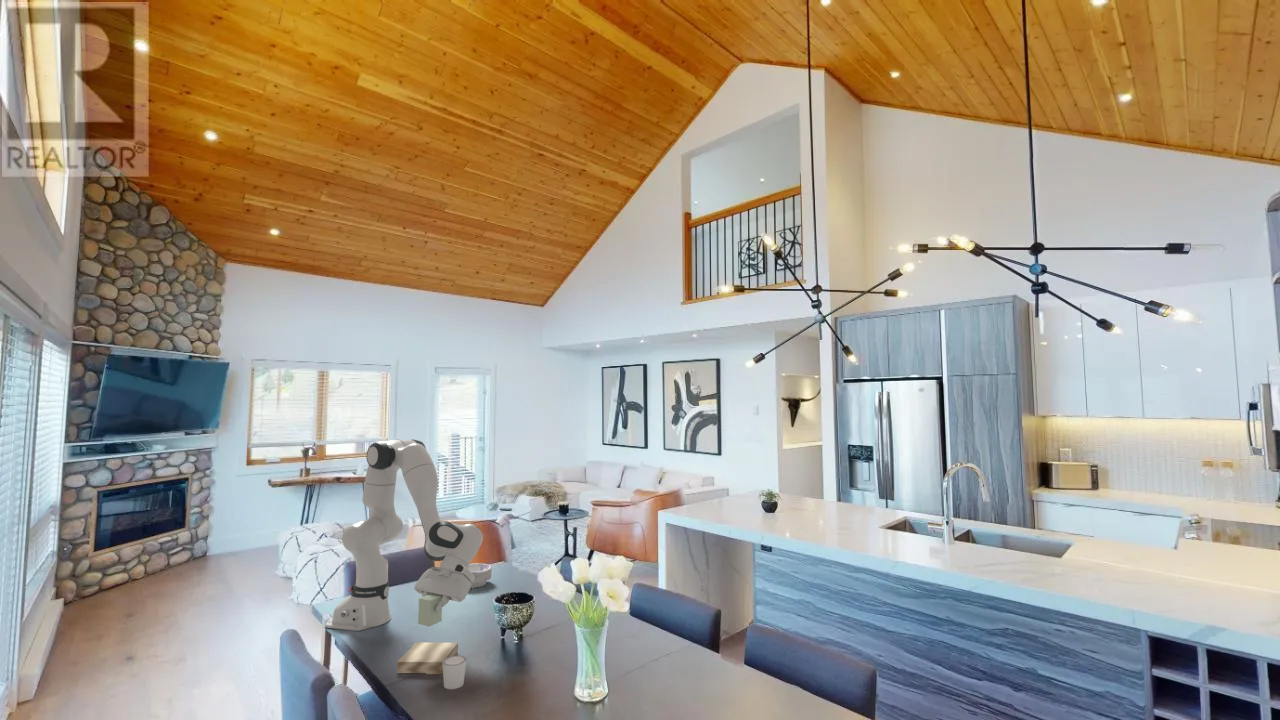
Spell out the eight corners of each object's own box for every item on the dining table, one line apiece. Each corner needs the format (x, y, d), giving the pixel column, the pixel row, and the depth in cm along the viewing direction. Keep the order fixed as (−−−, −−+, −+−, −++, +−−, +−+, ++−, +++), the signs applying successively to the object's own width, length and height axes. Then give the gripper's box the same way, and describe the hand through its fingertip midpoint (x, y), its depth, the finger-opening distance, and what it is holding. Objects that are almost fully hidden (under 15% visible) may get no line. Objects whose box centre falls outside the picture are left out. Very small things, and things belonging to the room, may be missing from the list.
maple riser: (397, 675, 173) (397, 661, 174) (416, 654, 187) (416, 642, 188) (441, 675, 173) (442, 662, 173) (457, 655, 187) (457, 642, 187)
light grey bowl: (497, 581, 262) (497, 563, 262) (480, 591, 247) (481, 573, 248) (468, 578, 265) (468, 561, 266) (449, 589, 251) (450, 571, 251)
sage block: (418, 623, 180) (418, 598, 181) (430, 618, 184) (430, 593, 185) (429, 626, 178) (430, 600, 178) (441, 621, 182) (442, 595, 183)
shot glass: (470, 680, 169) (471, 657, 169) (456, 692, 162) (456, 667, 163) (451, 677, 171) (452, 653, 172) (436, 688, 165) (437, 663, 165)
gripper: (425, 561, 193) (400, 599, 184) (469, 568, 184) (446, 609, 174) (434, 570, 197) (411, 608, 187) (479, 578, 188) (456, 619, 178)
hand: (428, 609), depth 181 cm, fingers closed on sage block, 5 cm apart
